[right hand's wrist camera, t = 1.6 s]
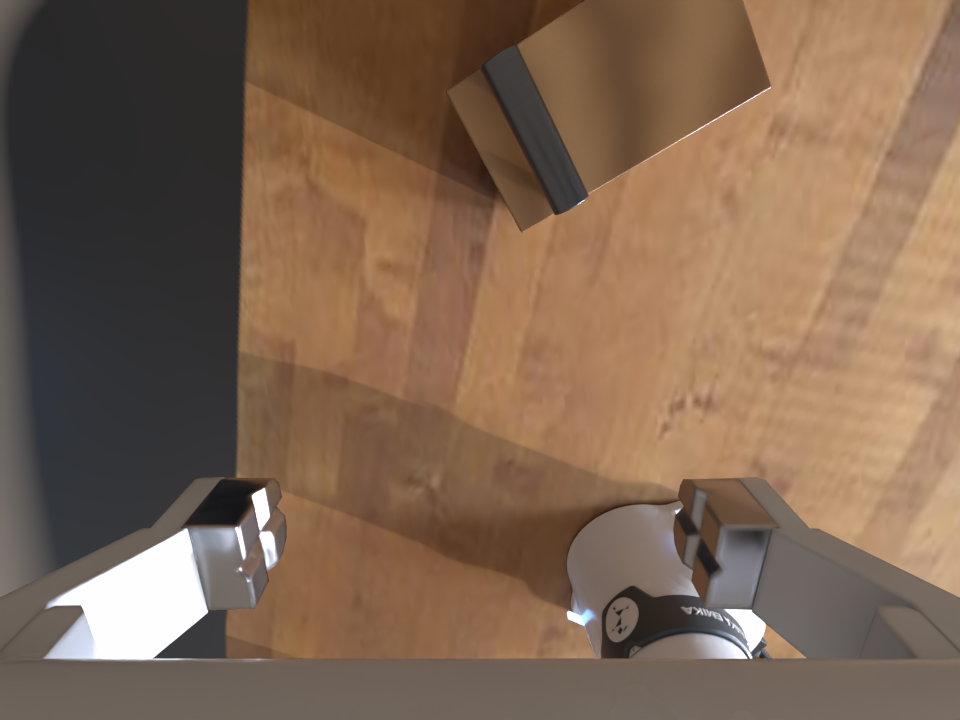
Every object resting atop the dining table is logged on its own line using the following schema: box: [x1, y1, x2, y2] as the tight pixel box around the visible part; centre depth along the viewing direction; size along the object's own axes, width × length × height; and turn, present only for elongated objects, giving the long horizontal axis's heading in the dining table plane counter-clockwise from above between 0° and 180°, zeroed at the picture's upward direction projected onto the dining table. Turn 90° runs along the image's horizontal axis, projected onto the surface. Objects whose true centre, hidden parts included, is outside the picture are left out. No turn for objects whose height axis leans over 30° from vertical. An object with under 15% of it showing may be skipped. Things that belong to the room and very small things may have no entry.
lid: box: [446, 0, 771, 232], centre depth 26 cm, size 16×9×8 cm, turn 120°
